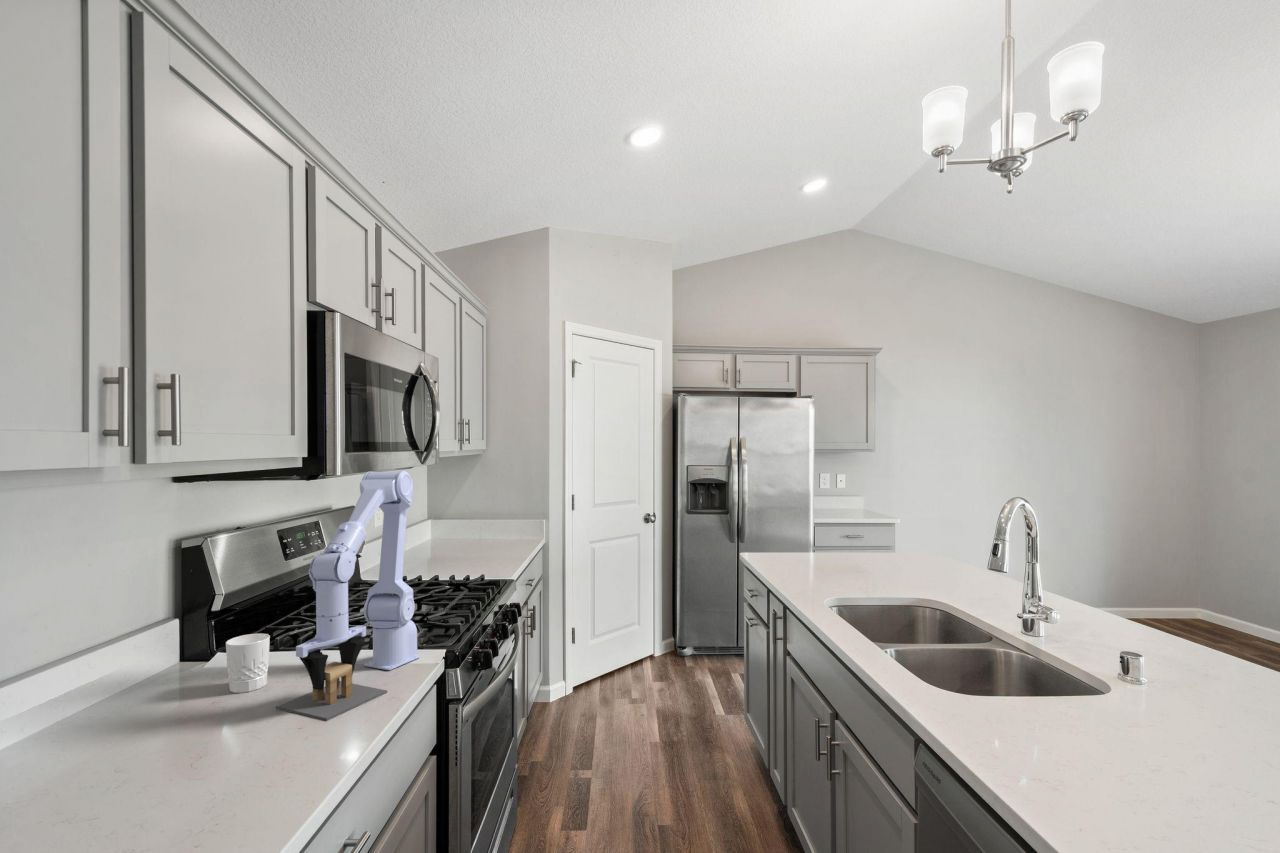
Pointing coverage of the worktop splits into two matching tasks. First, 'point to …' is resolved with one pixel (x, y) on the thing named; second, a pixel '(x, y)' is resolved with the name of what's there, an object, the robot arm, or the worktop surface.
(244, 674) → the white cup
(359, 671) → the worktop surface
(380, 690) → the mat
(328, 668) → the tan notched block
